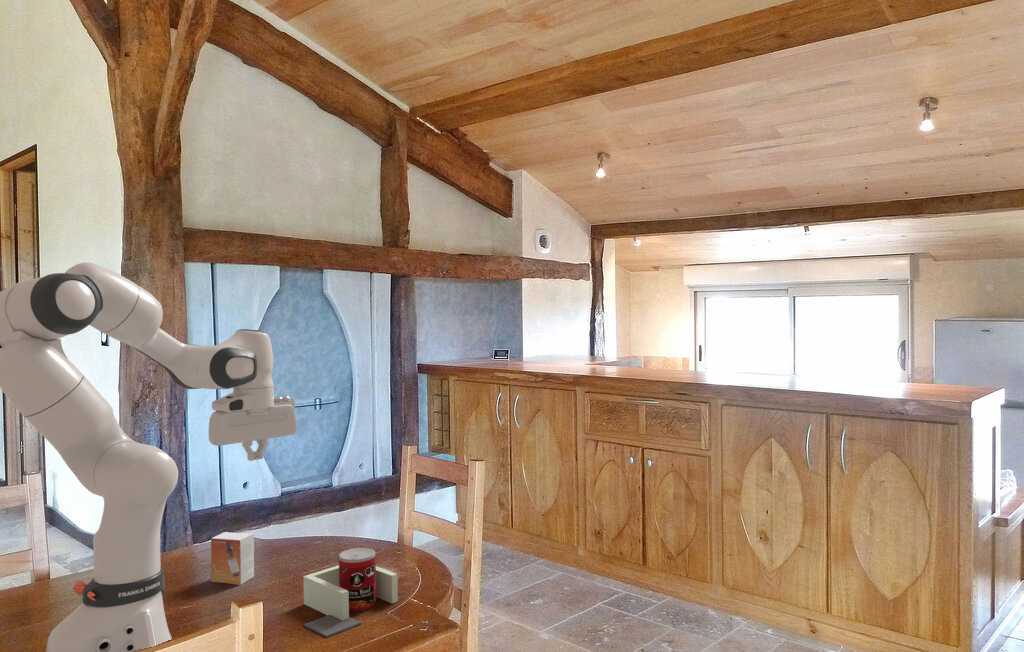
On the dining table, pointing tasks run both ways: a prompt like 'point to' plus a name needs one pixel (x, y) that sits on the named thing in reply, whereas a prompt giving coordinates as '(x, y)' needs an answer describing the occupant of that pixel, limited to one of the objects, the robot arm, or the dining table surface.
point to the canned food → (358, 577)
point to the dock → (343, 591)
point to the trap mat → (331, 625)
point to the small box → (232, 558)
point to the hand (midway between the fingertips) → (255, 459)
